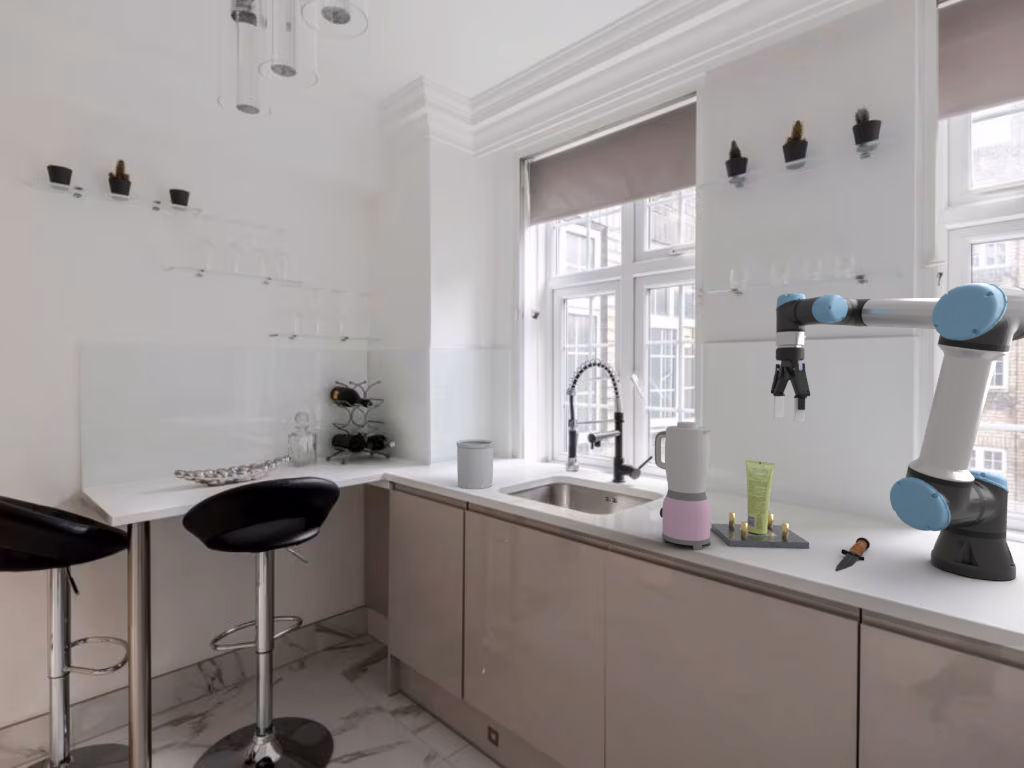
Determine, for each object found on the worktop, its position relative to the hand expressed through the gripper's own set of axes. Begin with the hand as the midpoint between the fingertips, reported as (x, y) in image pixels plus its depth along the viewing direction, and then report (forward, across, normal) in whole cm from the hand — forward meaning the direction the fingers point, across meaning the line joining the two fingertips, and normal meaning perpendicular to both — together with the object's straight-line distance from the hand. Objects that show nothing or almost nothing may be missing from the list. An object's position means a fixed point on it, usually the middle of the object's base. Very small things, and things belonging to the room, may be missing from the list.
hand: (788, 419), depth 159 cm
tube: (+30, -12, +13) cm, 35 cm away
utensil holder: (+32, +49, +99) cm, 115 cm away
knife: (+32, -28, -3) cm, 43 cm away
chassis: (+32, -12, +13) cm, 36 cm away
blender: (+32, -17, +35) cm, 50 cm away
